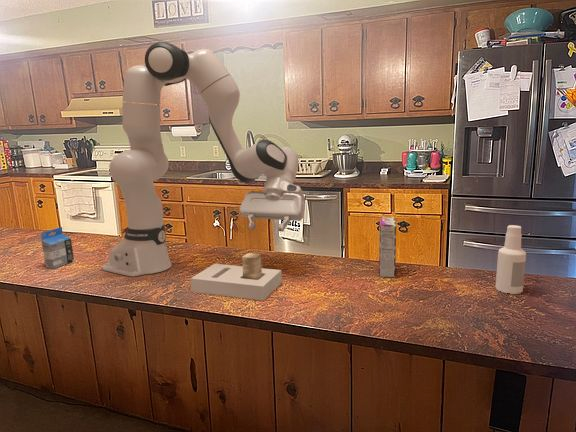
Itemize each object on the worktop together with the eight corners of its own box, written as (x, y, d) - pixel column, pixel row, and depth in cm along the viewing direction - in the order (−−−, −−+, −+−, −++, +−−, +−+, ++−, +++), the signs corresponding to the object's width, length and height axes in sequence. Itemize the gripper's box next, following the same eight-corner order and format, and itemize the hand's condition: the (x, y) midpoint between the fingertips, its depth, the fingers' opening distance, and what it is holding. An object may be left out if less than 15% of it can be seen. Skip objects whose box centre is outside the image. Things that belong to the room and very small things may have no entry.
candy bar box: (378, 266, 147) (379, 216, 144) (394, 266, 146) (395, 217, 143) (378, 277, 136) (379, 224, 133) (395, 278, 135) (397, 224, 132)
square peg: (243, 290, 127) (242, 256, 125) (249, 286, 131) (248, 253, 129) (256, 292, 126) (255, 258, 124) (262, 287, 129) (261, 254, 127)
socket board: (191, 291, 127) (190, 278, 126) (215, 275, 140) (214, 263, 139) (263, 300, 120) (263, 286, 119) (281, 283, 133) (281, 270, 132)
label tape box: (53, 269, 149) (49, 233, 147) (44, 268, 151) (39, 232, 148) (74, 261, 157) (70, 227, 155) (65, 260, 159) (61, 226, 156)
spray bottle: (524, 295, 120) (530, 230, 116) (496, 293, 122) (501, 228, 119) (521, 287, 126) (526, 224, 123) (494, 284, 129) (499, 222, 125)
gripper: (243, 185, 143) (231, 221, 136) (305, 187, 136) (295, 225, 129) (249, 196, 148) (238, 232, 141) (309, 199, 141) (300, 237, 134)
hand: (265, 229), depth 135 cm, fingers open, 8 cm apart
